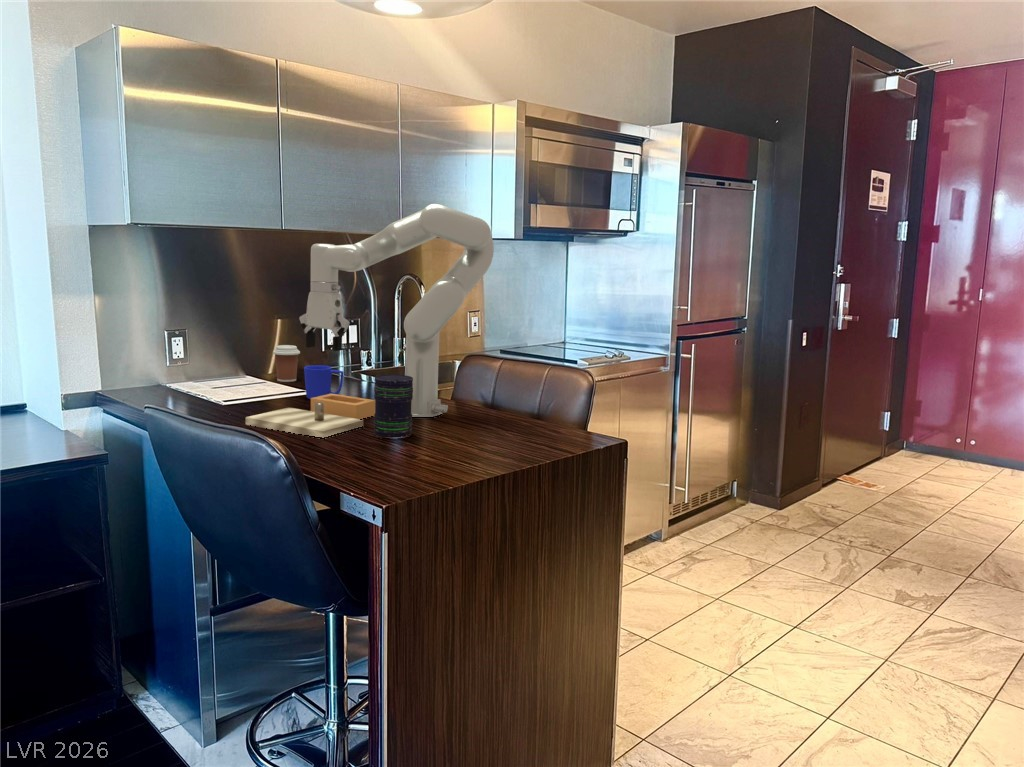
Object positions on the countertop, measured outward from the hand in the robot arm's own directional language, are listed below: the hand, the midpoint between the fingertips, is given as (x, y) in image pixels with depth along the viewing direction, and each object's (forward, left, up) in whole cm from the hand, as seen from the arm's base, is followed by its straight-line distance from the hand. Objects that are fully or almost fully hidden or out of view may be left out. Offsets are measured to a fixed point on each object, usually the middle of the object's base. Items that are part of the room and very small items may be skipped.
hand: (323, 348), depth 216 cm
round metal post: (-12, +16, -16) cm, 26 cm away
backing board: (-8, +17, -18) cm, 26 cm away
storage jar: (-32, +11, -19) cm, 39 cm away
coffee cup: (+44, -32, -19) cm, 57 cm away
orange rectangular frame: (-7, 0, -18) cm, 20 cm away
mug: (+12, -14, -19) cm, 26 cm away
